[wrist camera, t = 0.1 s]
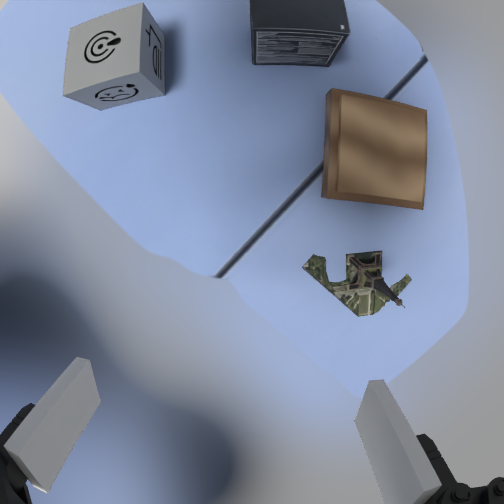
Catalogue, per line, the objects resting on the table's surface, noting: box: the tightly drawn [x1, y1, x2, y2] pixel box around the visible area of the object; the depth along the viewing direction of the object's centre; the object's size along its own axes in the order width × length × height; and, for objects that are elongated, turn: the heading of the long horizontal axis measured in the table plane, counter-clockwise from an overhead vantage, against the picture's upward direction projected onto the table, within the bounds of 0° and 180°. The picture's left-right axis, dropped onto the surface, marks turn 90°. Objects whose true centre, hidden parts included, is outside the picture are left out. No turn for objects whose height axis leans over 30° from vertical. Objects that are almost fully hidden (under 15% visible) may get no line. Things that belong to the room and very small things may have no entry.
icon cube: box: [63, 3, 165, 111], centre depth 28 cm, size 10×10×10 cm
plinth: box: [321, 88, 427, 210], centre depth 34 cm, size 14×14×4 cm
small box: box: [250, 0, 351, 67], centre depth 27 cm, size 11×6×10 cm, turn 92°
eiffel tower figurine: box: [302, 251, 412, 316], centre depth 34 cm, size 15×10×13 cm
